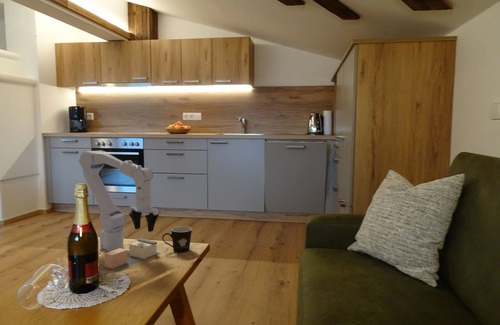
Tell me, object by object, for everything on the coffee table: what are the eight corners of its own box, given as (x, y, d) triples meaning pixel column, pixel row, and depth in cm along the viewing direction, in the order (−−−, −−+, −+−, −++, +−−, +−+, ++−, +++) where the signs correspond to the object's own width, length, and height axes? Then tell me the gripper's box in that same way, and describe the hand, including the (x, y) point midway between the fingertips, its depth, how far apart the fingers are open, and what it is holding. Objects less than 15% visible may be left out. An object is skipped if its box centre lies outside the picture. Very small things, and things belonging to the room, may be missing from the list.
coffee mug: (193, 249, 153) (194, 227, 153) (188, 256, 145) (188, 232, 144) (168, 248, 155) (168, 225, 154) (161, 254, 146) (161, 231, 145)
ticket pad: (128, 254, 142) (128, 242, 142) (141, 250, 149) (141, 237, 148) (144, 259, 138) (144, 246, 138) (157, 254, 144) (157, 241, 144)
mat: (97, 267, 132) (96, 264, 132) (141, 250, 151) (141, 248, 151) (117, 273, 126) (116, 270, 126) (160, 255, 145) (160, 253, 145)
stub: (104, 266, 130) (104, 253, 129) (120, 260, 136) (120, 248, 135) (112, 268, 128) (111, 255, 127) (127, 262, 134) (127, 249, 133)
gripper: (123, 197, 144) (124, 229, 145) (148, 200, 137) (149, 234, 138) (136, 194, 150) (137, 226, 151) (161, 197, 143) (162, 230, 144)
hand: (144, 230), depth 145 cm, fingers open, 7 cm apart
